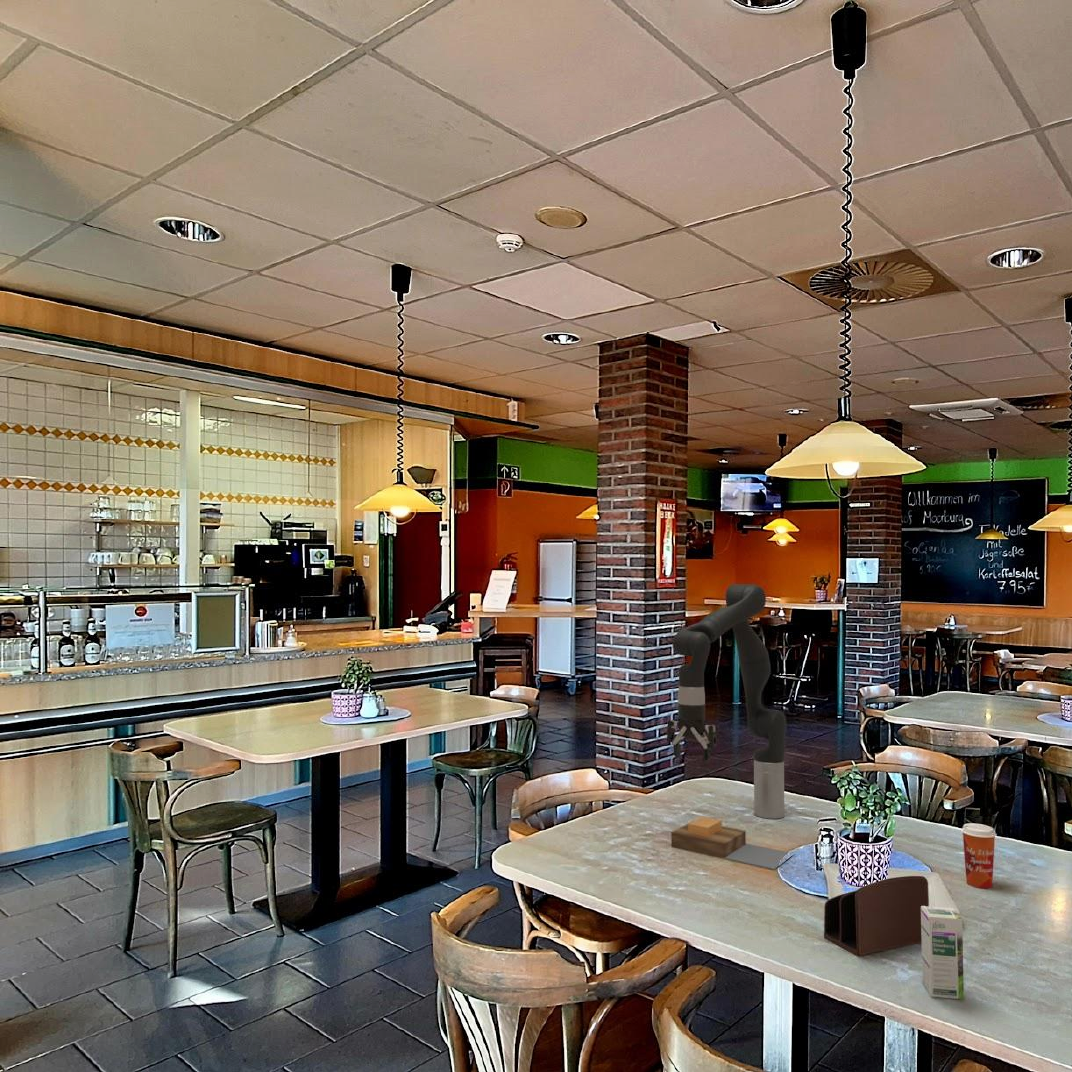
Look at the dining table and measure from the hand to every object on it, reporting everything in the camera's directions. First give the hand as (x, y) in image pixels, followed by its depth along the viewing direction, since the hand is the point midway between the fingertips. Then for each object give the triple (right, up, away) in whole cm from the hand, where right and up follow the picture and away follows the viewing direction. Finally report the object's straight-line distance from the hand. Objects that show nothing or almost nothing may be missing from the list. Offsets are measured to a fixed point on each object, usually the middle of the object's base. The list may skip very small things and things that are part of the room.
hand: (691, 759), depth 239 cm
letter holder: (+28, -22, -62) cm, 71 cm away
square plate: (+39, -23, -40) cm, 60 cm away
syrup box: (+31, -21, -84) cm, 91 cm away
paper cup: (+66, -23, -30) cm, 76 cm away
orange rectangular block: (+4, -19, -1) cm, 19 cm away
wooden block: (+4, -24, -2) cm, 24 cm away
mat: (+17, -23, -11) cm, 31 cm away
